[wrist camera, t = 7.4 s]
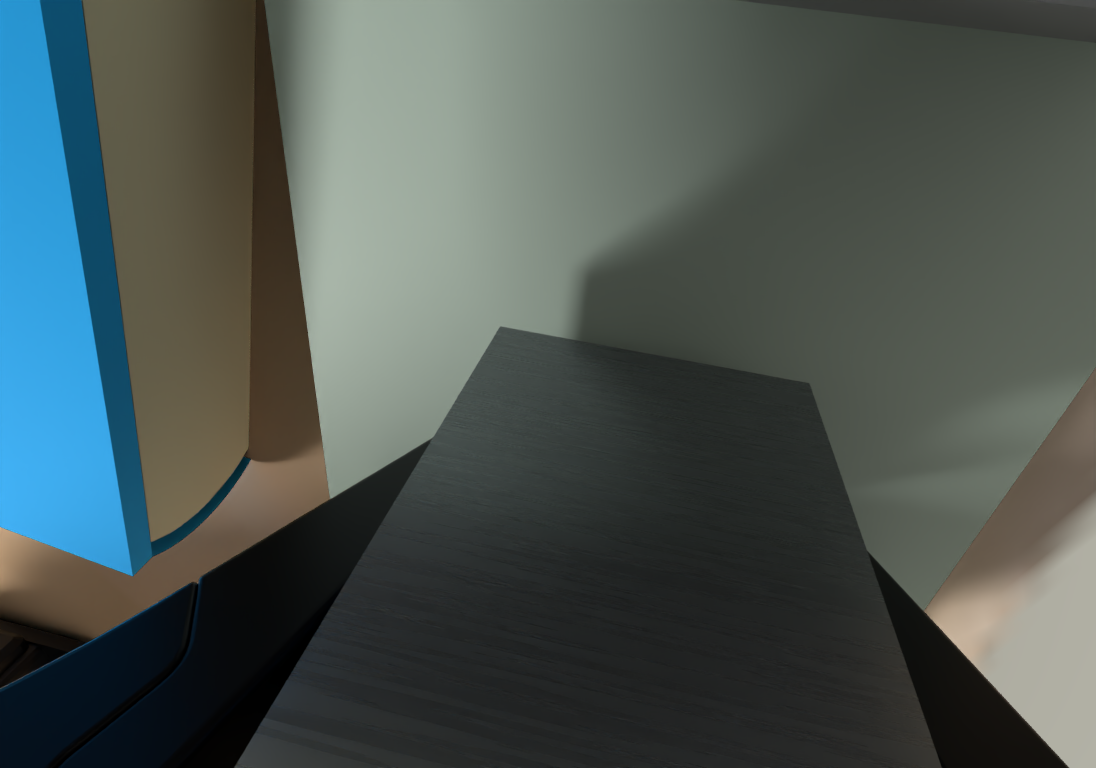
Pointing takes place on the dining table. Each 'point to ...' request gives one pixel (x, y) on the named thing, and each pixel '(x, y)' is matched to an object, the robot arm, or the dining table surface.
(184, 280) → the book
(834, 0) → the jaw
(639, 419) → the block
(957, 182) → the vise
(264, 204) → the dining table surface
